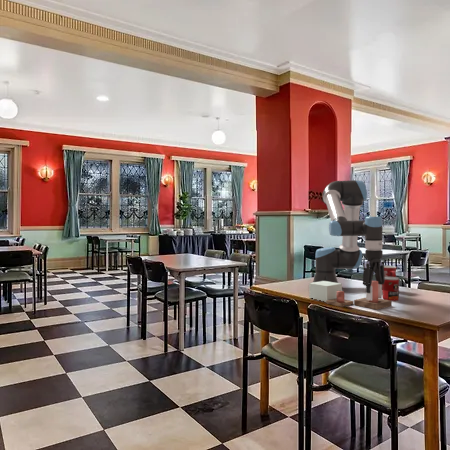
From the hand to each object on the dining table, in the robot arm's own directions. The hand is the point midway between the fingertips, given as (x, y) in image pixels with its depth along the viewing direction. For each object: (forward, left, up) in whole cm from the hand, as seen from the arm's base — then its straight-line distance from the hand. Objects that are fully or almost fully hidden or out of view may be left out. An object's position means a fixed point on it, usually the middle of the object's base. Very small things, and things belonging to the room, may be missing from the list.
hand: (374, 298), depth 185 cm
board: (-14, -7, -4) cm, 16 cm away
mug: (-18, +42, -4) cm, 46 cm away
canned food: (-5, +22, -4) cm, 23 cm away
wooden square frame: (-2, +2, -4) cm, 5 cm away
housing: (-26, -3, -4) cm, 26 cm away
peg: (0, 0, -4) cm, 4 cm away
